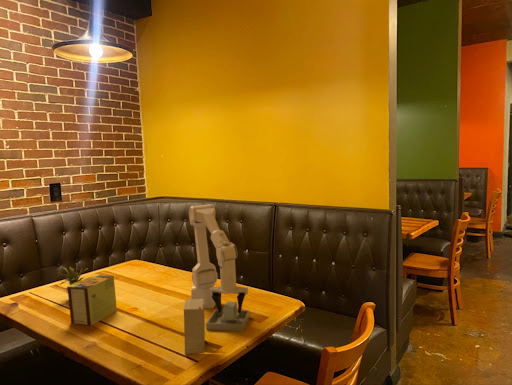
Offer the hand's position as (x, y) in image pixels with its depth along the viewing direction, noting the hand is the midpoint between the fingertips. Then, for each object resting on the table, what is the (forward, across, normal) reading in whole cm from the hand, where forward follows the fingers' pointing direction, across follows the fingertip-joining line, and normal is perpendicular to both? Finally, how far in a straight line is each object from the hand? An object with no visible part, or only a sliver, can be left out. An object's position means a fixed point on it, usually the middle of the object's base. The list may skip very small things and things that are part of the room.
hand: (229, 311), depth 141 cm
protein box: (+6, -59, +4) cm, 59 cm away
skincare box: (+6, -8, -17) cm, 20 cm away
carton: (+1, 0, 0) cm, 1 cm away
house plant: (+6, -81, +21) cm, 84 cm away
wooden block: (+5, 0, 0) cm, 5 cm away
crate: (+5, -1, +1) cm, 6 cm away
